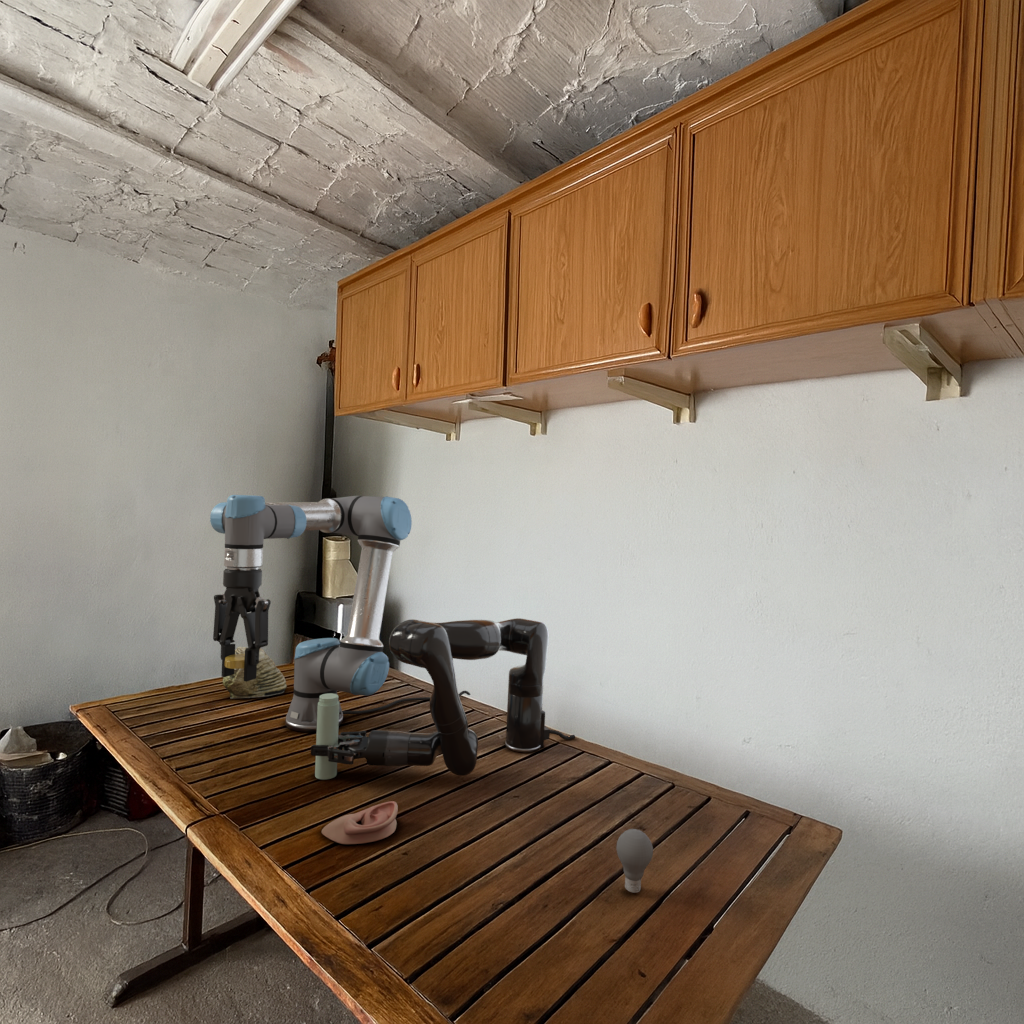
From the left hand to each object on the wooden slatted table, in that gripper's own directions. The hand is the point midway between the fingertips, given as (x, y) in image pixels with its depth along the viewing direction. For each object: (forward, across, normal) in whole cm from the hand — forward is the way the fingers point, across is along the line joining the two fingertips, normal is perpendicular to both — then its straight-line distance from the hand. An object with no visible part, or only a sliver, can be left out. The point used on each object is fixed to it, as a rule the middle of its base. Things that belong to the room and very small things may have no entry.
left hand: (238, 677), depth 134 cm
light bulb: (+24, +84, +4) cm, 87 cm away
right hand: (+18, +9, +14) cm, 25 cm away
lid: (-4, 0, 0) cm, 4 cm away
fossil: (+24, -45, +50) cm, 72 cm away
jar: (+24, +11, +16) cm, 31 cm away
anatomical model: (+25, +32, 0) cm, 41 cm away
